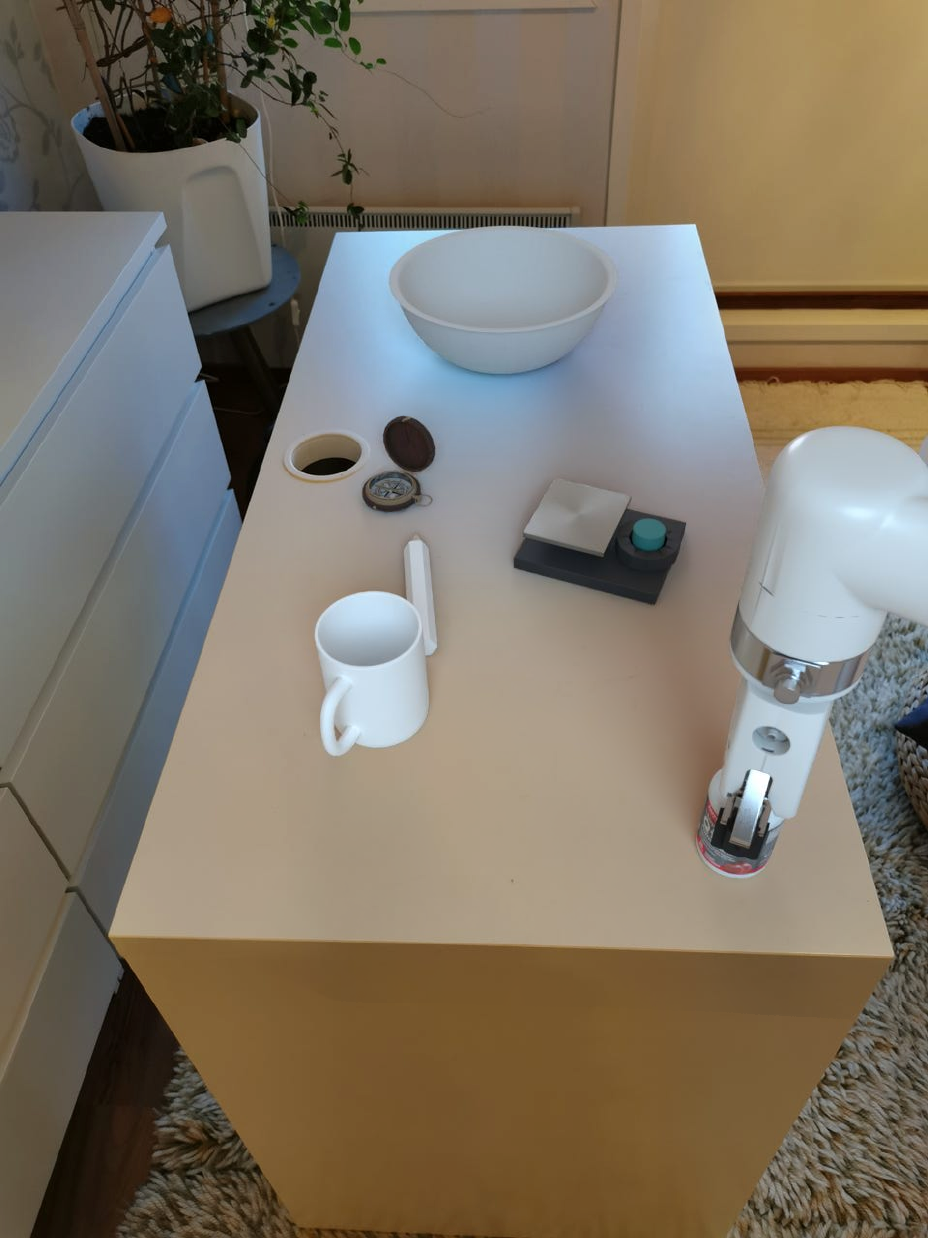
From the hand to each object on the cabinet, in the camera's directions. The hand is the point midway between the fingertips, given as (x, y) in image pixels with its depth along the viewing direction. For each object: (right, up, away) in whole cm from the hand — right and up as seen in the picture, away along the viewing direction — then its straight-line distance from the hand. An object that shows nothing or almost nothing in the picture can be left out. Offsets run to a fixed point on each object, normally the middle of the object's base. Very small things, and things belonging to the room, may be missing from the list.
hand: (744, 811), depth 67 cm
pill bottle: (0, -4, +4) cm, 5 cm away
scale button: (-2, +21, +24) cm, 32 cm away
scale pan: (-9, +23, +25) cm, 35 cm away
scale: (-6, +20, +27) cm, 34 cm away
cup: (-27, +4, +13) cm, 30 cm away
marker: (-24, +16, +24) cm, 37 cm away
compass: (-26, +27, +34) cm, 50 cm away
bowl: (-15, +47, +54) cm, 73 cm away
